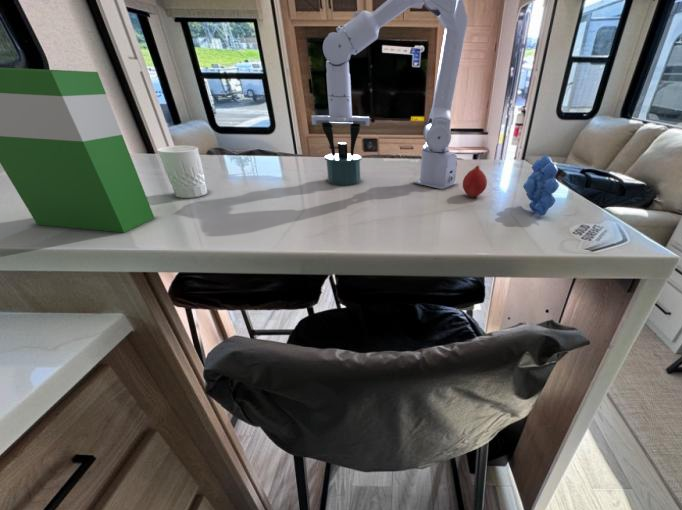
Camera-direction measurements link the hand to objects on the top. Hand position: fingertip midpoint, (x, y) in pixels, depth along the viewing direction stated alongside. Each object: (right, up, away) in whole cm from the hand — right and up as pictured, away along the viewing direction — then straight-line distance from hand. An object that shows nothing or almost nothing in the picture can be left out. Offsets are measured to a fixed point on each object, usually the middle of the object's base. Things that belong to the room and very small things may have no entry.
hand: (342, 155), depth 90 cm
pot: (0, -6, +4) cm, 7 cm away
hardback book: (-43, -24, -26) cm, 55 cm away
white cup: (-34, -14, -10) cm, 38 cm away
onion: (+34, -14, -6) cm, 37 cm away
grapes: (+46, -19, -13) cm, 51 cm away
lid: (0, -1, 0) cm, 1 cm away
